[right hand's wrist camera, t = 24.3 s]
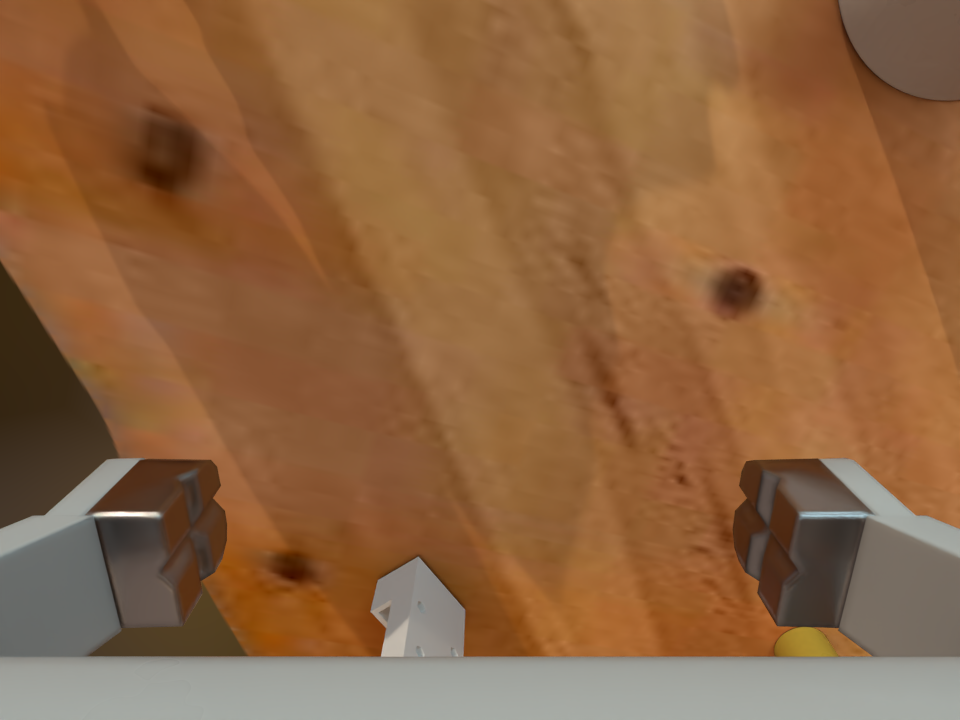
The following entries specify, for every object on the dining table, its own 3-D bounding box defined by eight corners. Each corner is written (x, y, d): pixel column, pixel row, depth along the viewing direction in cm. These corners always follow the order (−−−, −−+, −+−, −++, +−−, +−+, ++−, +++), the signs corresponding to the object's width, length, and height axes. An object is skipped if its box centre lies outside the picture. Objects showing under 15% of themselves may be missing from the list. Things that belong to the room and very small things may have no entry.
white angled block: (374, 535, 42) (401, 670, 36) (455, 574, 49) (488, 692, 43) (331, 561, 43) (350, 698, 37) (416, 596, 50) (444, 715, 44)
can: (792, 619, 47) (820, 664, 44) (838, 637, 48) (869, 682, 44) (763, 657, 49) (787, 704, 45) (807, 674, 49) (835, 721, 45)
